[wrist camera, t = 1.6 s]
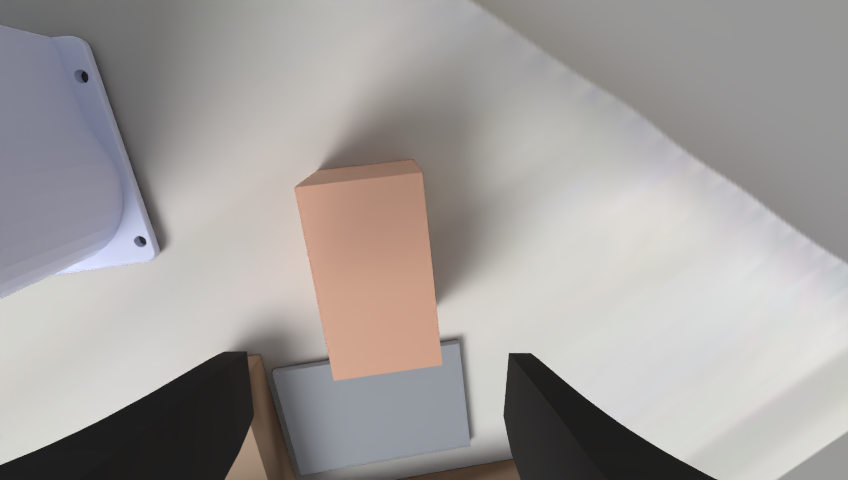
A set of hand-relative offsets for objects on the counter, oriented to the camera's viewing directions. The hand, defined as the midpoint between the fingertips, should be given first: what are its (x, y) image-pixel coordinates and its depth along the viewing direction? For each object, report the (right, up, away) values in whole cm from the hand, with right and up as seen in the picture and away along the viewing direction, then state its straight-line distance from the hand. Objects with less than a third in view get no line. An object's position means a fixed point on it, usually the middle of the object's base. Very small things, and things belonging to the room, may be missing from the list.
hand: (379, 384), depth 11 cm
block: (-1, +4, +9) cm, 10 cm away
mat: (-1, -6, +12) cm, 13 cm away
